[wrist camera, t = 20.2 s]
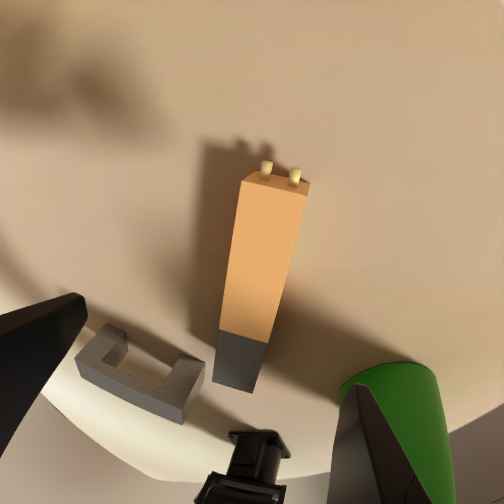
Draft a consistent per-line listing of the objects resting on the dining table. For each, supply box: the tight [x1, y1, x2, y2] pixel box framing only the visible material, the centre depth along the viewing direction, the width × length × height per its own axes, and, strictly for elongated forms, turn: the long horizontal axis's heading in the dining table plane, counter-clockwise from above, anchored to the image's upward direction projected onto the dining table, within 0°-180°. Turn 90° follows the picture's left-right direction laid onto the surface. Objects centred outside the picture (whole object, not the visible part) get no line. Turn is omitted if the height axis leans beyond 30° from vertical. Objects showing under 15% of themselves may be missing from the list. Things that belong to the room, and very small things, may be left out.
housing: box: [74, 324, 205, 425], centre depth 25 cm, size 3×11×6 cm, turn 80°
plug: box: [212, 160, 310, 393], centre depth 19 cm, size 17×3×3 cm, turn 170°
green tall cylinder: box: [339, 363, 456, 504], centre depth 14 cm, size 10×9×20 cm
